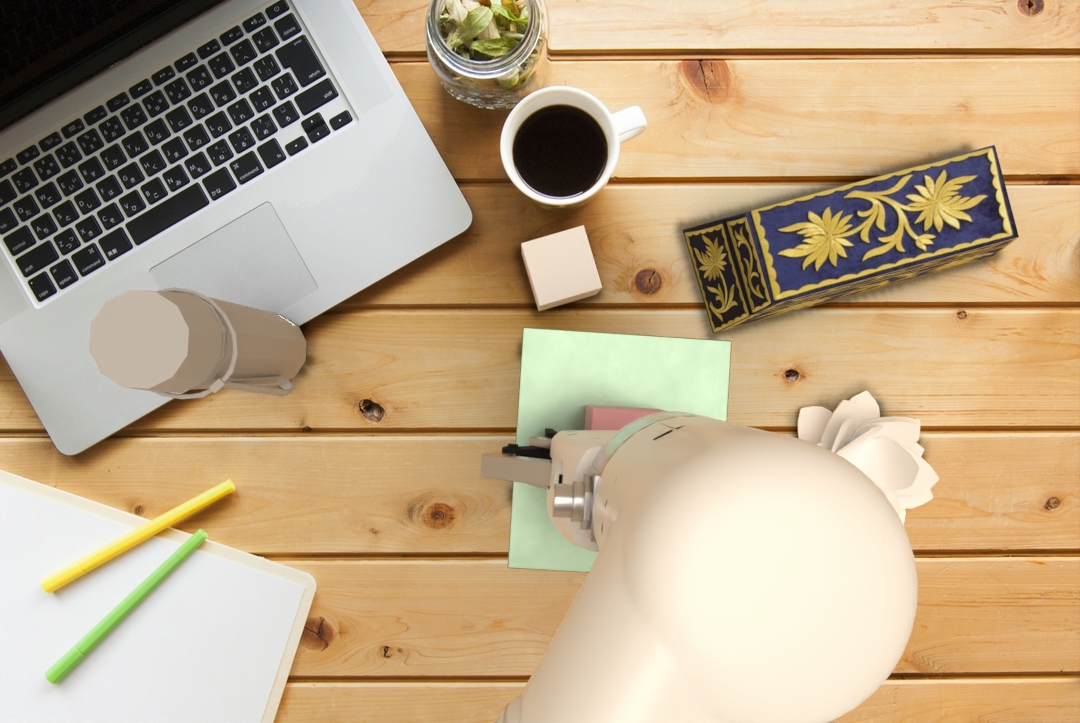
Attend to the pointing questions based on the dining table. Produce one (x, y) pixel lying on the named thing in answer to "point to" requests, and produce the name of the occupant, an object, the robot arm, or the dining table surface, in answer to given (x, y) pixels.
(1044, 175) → the dining table surface
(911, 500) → the lotus flower
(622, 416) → the pink box
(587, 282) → the pale peach cube
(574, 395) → the pale green block
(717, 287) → the decorative box
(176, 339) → the water bottle
